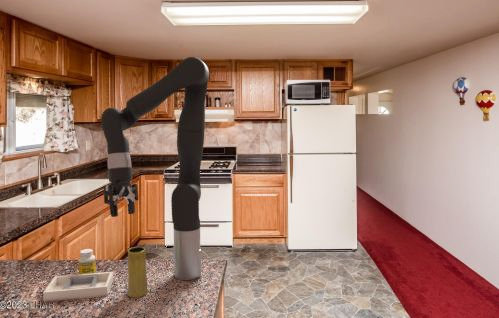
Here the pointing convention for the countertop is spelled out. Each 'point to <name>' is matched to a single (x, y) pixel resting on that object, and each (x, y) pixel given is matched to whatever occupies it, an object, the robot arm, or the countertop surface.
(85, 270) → the supplement bottle
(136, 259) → the vase
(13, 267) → the countertop surface
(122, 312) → the countertop surface
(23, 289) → the countertop surface
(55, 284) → the walled box
